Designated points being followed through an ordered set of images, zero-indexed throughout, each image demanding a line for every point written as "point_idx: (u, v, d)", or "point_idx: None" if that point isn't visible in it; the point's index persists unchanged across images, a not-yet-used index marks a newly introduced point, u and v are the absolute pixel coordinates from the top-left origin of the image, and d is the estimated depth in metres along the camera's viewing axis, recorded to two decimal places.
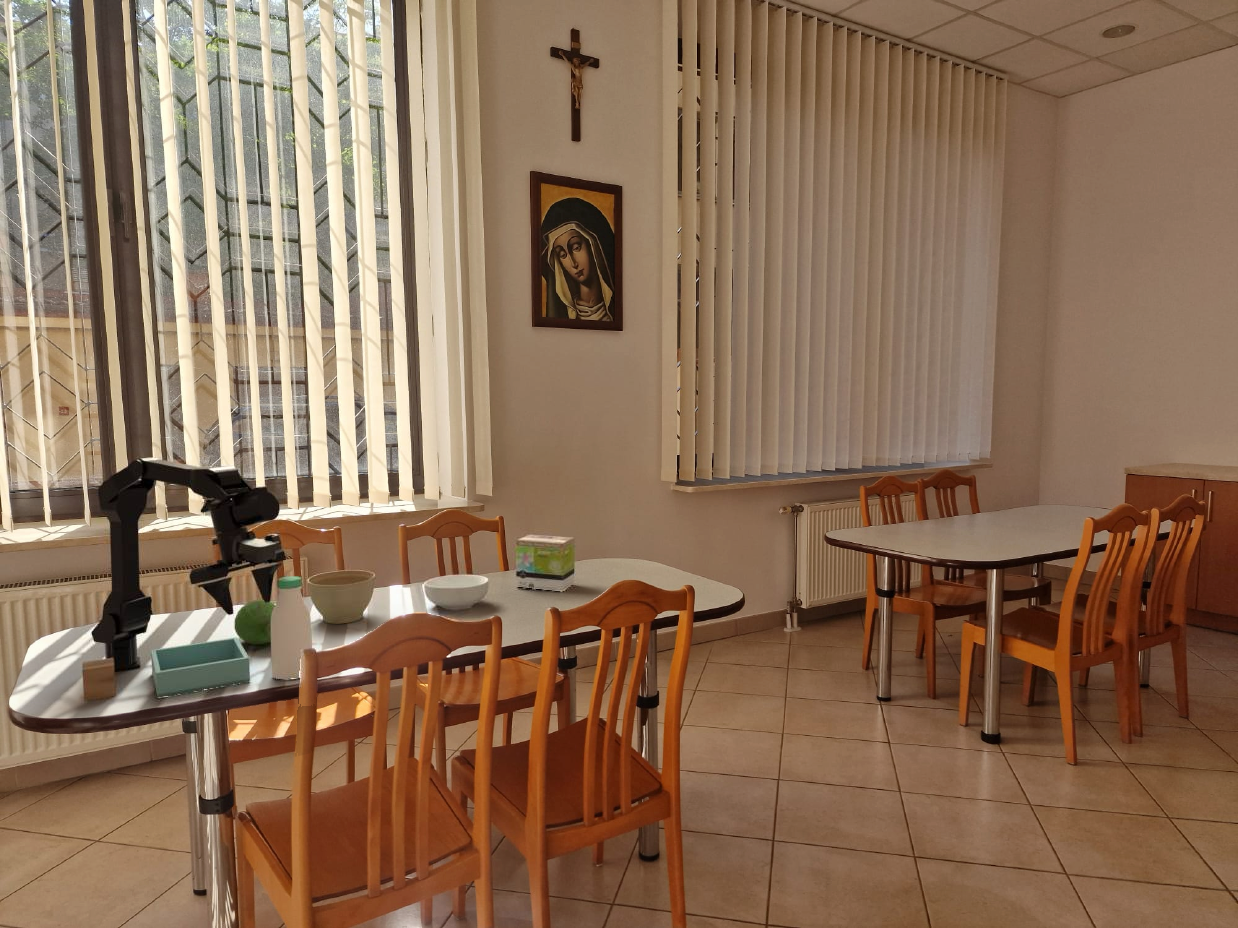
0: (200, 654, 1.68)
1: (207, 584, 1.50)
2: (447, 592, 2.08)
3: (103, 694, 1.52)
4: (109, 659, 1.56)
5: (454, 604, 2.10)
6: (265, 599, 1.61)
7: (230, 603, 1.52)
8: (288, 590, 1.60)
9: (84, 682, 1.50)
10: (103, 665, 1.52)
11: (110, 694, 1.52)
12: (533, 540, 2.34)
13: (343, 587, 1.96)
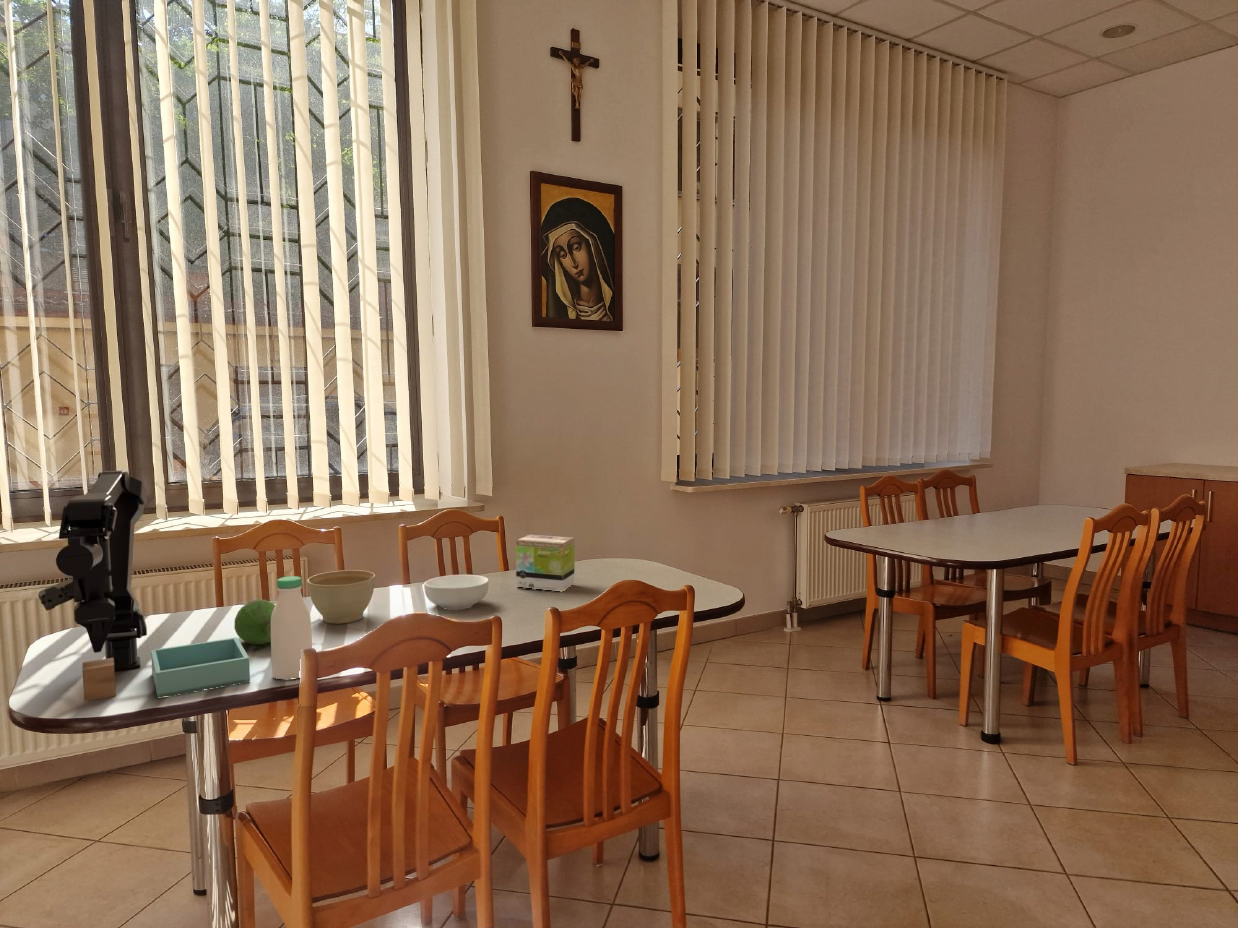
0: (200, 654, 1.68)
1: None
2: (447, 592, 2.08)
3: (103, 694, 1.52)
4: (109, 659, 1.56)
5: (454, 604, 2.10)
6: None
7: None
8: (288, 590, 1.60)
9: (84, 682, 1.50)
10: (103, 665, 1.52)
11: (110, 694, 1.52)
12: (533, 540, 2.34)
13: (343, 587, 1.96)
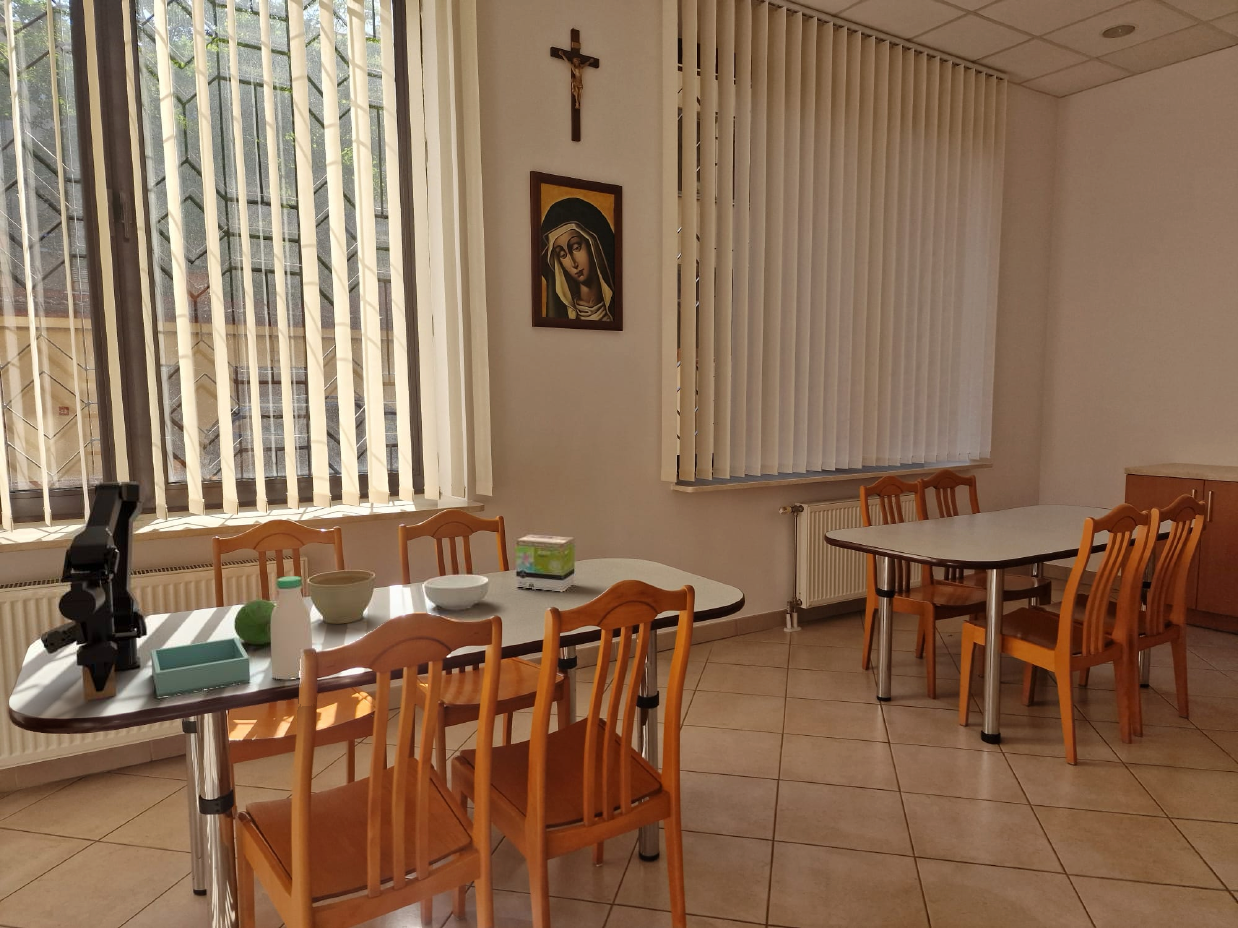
0: (200, 654, 1.68)
1: None
2: (447, 592, 2.08)
3: (103, 694, 1.52)
4: None
5: (454, 604, 2.10)
6: None
7: None
8: (288, 590, 1.60)
9: (84, 682, 1.50)
10: None
11: (110, 694, 1.53)
12: (533, 540, 2.34)
13: (343, 587, 1.96)
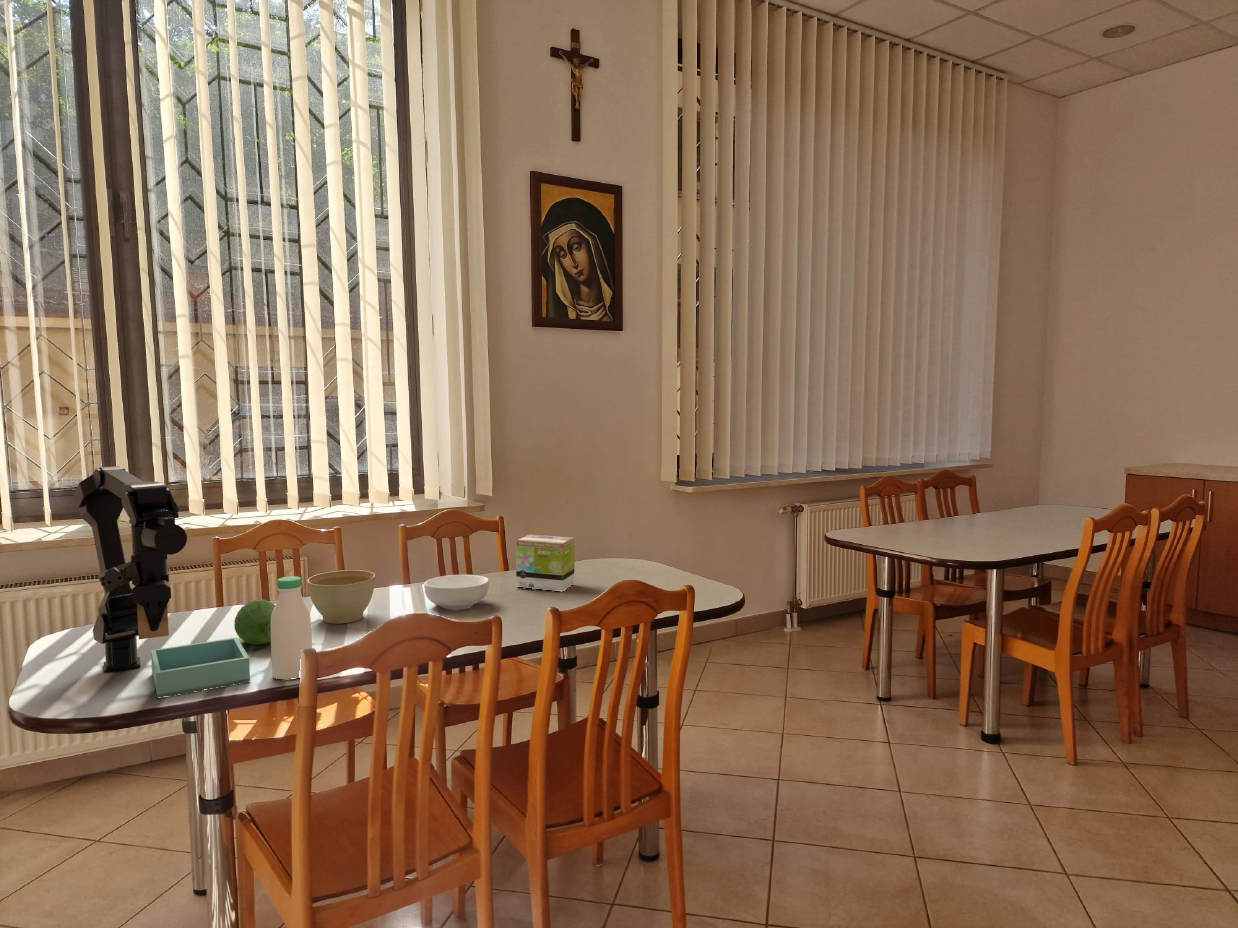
0: (200, 654, 1.68)
1: None
2: (447, 592, 2.08)
3: (157, 633, 1.55)
4: None
5: (454, 604, 2.10)
6: None
7: None
8: (288, 590, 1.60)
9: (139, 621, 1.54)
10: None
11: (163, 634, 1.56)
12: (533, 540, 2.34)
13: (343, 587, 1.96)
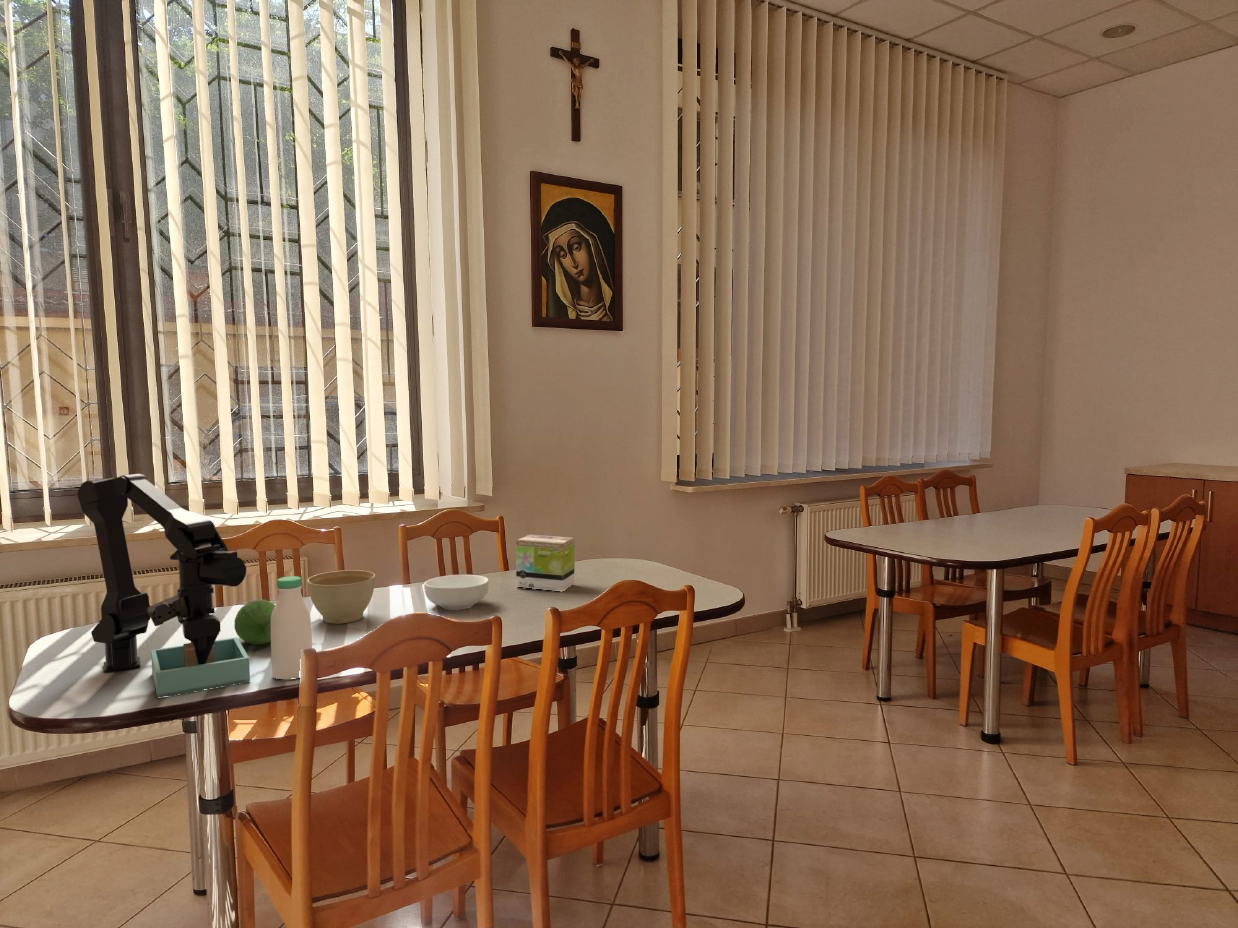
0: None
1: None
2: (447, 592, 2.08)
3: None
4: None
5: (454, 604, 2.10)
6: None
7: (191, 642, 1.65)
8: (288, 590, 1.60)
9: (187, 662, 1.58)
10: None
11: None
12: (533, 540, 2.34)
13: (343, 587, 1.96)
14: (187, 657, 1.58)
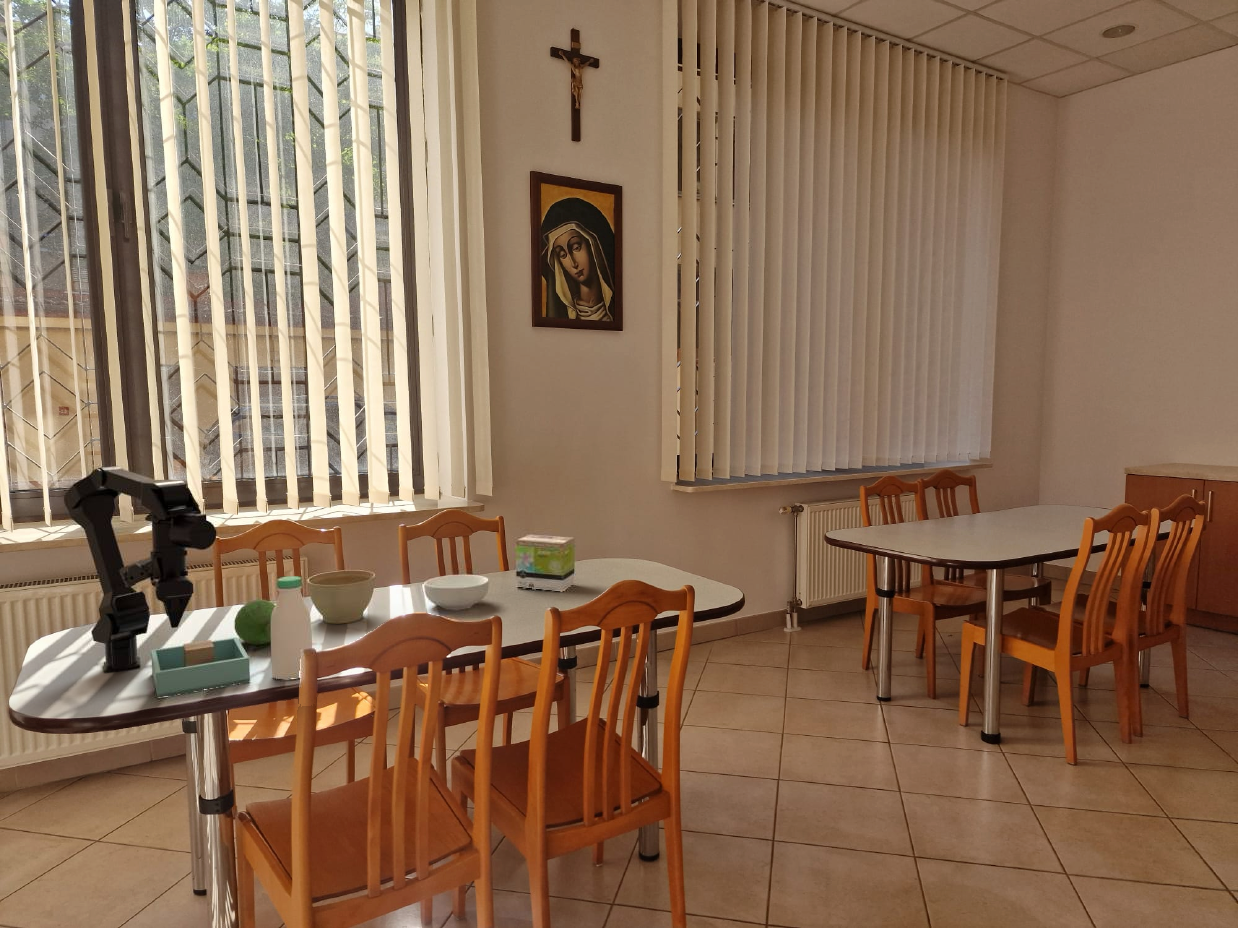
0: None
1: None
2: (447, 592, 2.08)
3: None
4: (207, 641, 1.64)
5: (454, 604, 2.10)
6: None
7: (164, 606, 1.64)
8: (288, 590, 1.60)
9: (187, 662, 1.58)
10: (204, 646, 1.60)
11: None
12: (533, 540, 2.34)
13: (343, 587, 1.96)
14: (187, 657, 1.58)
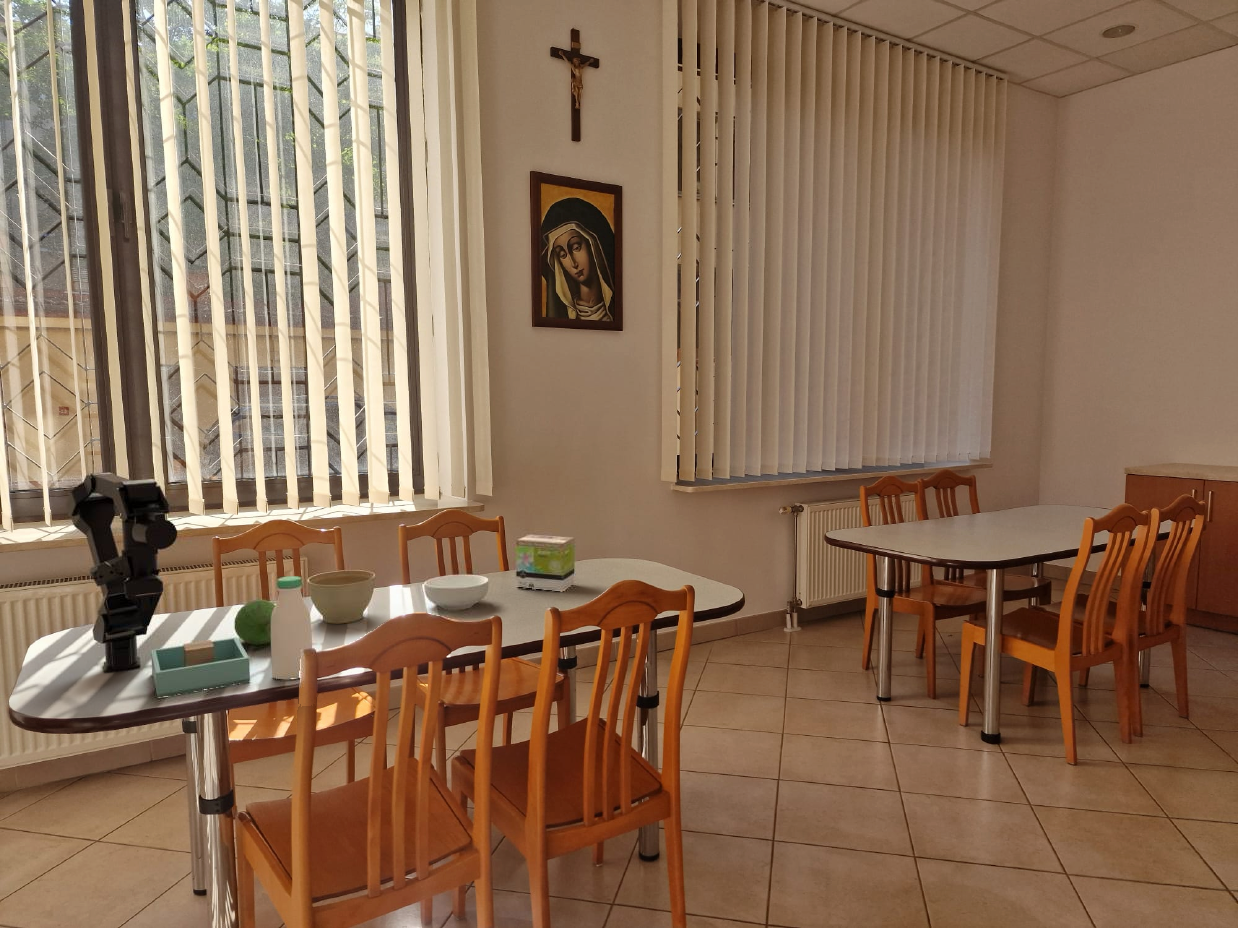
0: None
1: None
2: (447, 592, 2.08)
3: None
4: (207, 641, 1.64)
5: (454, 604, 2.10)
6: None
7: None
8: (288, 590, 1.60)
9: (187, 662, 1.58)
10: (204, 646, 1.60)
11: None
12: (533, 540, 2.34)
13: (343, 587, 1.96)
14: (187, 657, 1.58)
